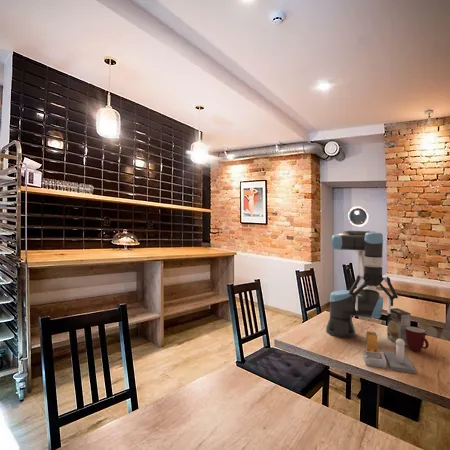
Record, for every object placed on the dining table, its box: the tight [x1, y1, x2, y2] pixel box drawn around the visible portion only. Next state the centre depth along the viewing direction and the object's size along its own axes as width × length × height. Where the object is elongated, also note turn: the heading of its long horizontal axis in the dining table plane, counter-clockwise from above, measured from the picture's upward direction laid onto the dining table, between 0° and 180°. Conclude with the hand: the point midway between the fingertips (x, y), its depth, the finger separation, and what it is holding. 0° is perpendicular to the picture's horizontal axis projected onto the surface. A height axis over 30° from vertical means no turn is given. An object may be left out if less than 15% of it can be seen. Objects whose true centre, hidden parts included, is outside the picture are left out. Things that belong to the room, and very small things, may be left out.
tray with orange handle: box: [362, 331, 387, 369], centre depth 131 cm, size 14×8×10 cm, turn 162°
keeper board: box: [383, 339, 416, 374], centre depth 127 cm, size 15×9×12 cm, turn 162°
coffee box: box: [386, 307, 412, 346], centre depth 152 cm, size 9×6×16 cm
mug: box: [406, 326, 430, 353], centre depth 140 cm, size 10×8×10 cm
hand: (372, 311), depth 135 cm, fingers open, 13 cm apart
